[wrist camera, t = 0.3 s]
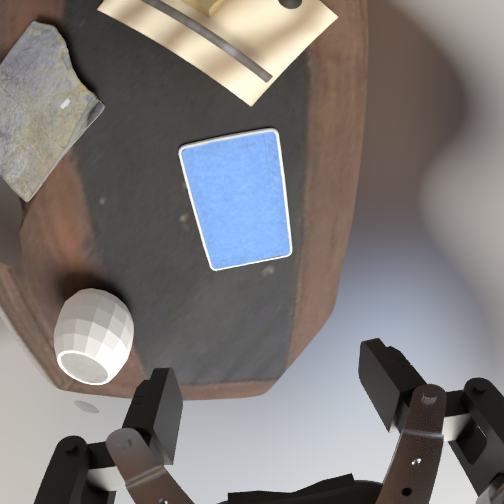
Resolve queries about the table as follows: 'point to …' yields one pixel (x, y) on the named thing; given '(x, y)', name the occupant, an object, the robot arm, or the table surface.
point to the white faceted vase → (93, 336)
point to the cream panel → (230, 36)
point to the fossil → (40, 108)
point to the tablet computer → (239, 197)
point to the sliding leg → (205, 6)
